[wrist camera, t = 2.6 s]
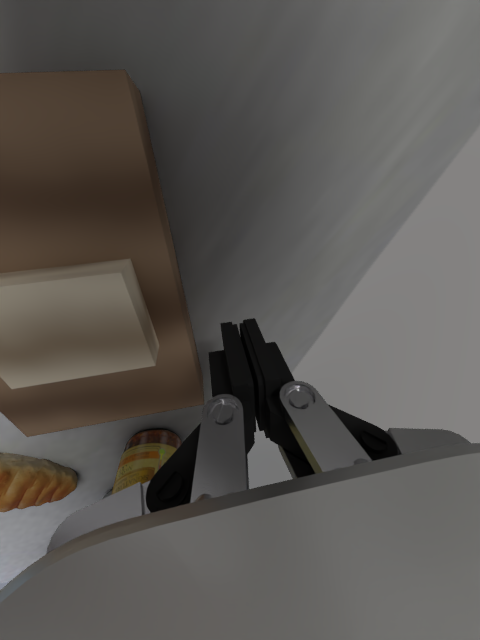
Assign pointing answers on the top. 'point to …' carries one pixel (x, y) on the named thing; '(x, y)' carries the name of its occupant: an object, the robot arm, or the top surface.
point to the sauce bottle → (144, 457)
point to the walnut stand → (91, 234)
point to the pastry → (32, 481)
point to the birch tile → (73, 323)
